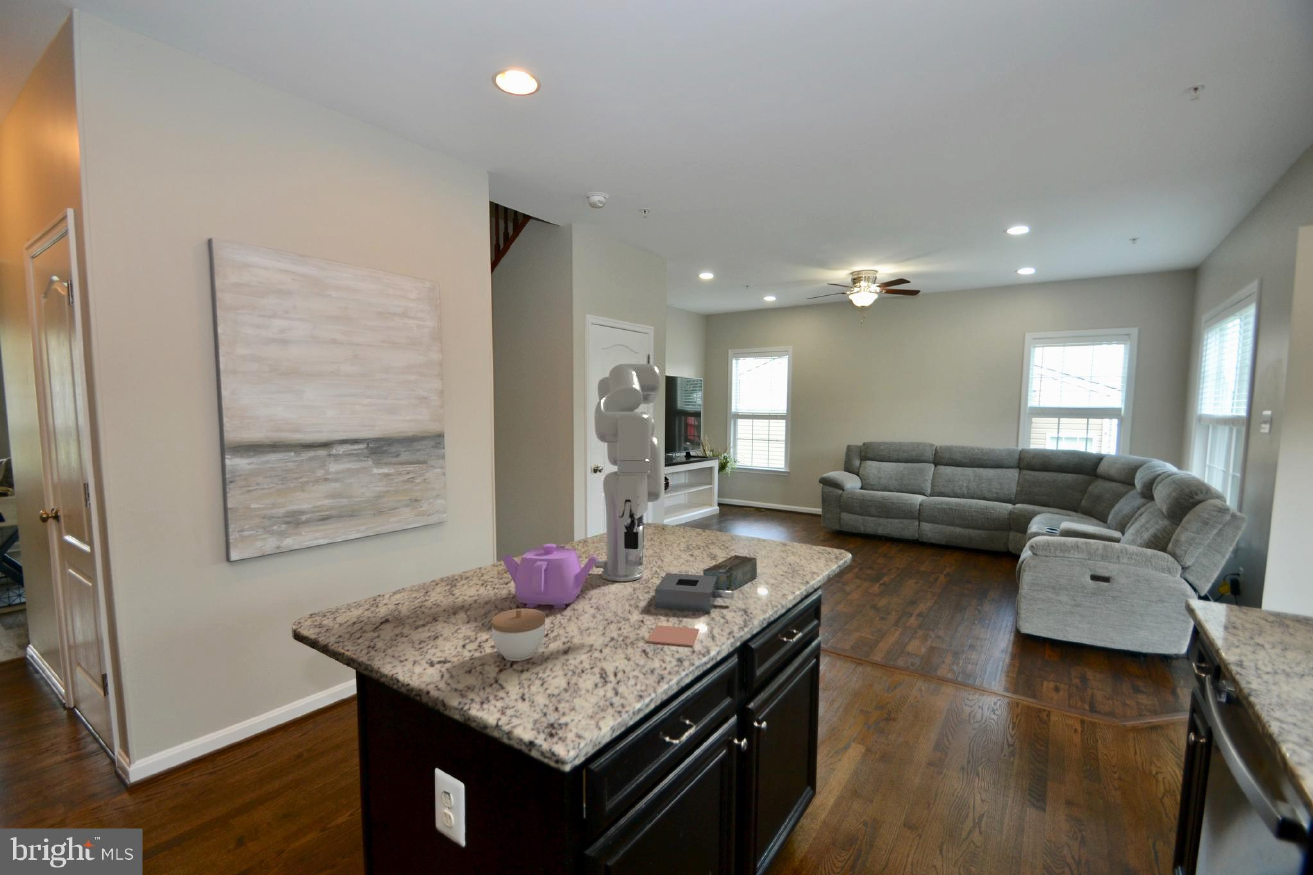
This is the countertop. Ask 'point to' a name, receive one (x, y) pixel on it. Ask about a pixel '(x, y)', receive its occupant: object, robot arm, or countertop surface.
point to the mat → (673, 635)
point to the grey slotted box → (689, 592)
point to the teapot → (548, 575)
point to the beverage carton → (733, 572)
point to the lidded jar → (518, 633)
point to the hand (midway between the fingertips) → (634, 545)
